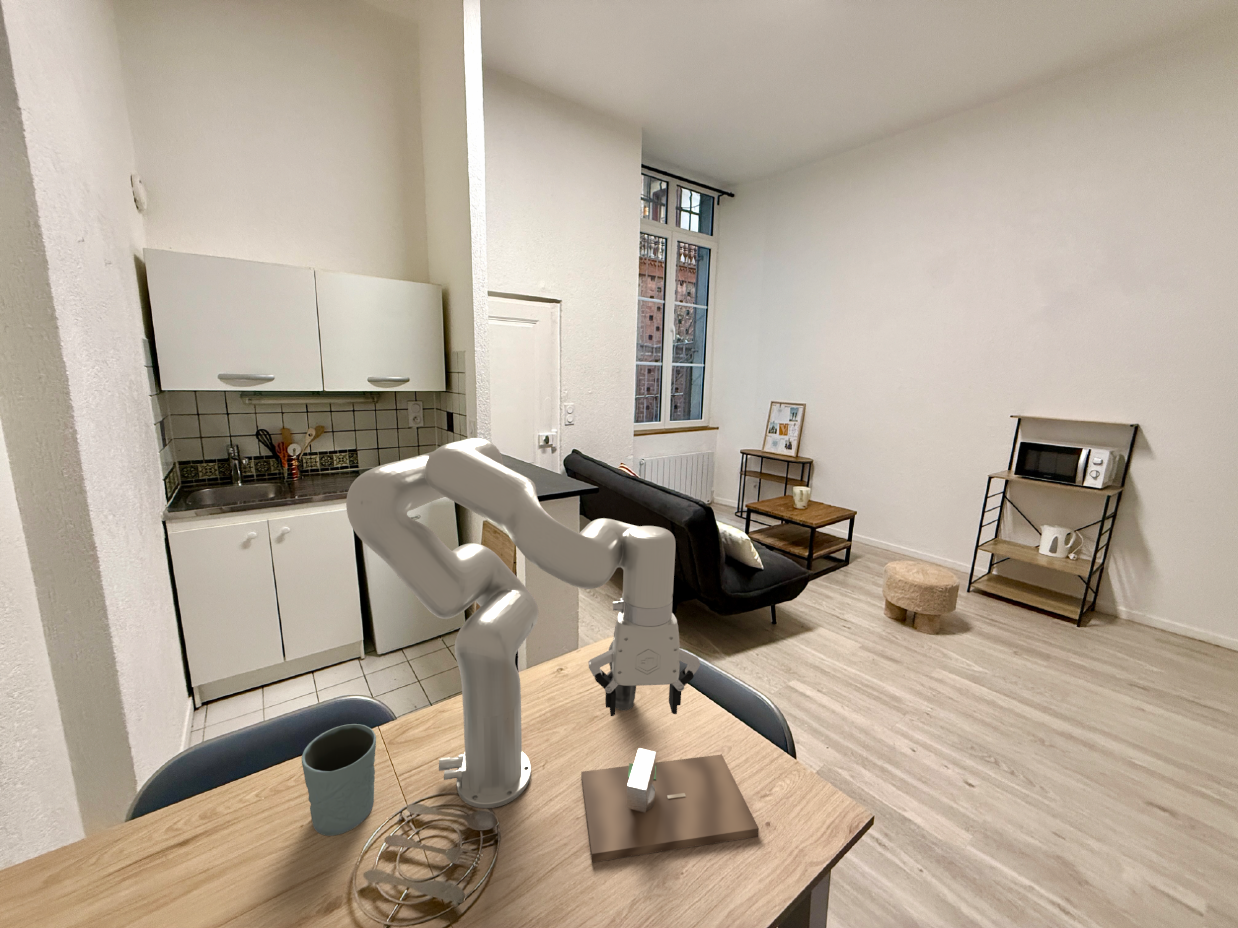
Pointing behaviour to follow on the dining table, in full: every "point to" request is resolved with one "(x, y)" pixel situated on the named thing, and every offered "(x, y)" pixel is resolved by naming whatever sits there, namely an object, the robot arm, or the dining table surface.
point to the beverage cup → (624, 693)
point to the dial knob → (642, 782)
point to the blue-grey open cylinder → (340, 777)
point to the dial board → (665, 809)
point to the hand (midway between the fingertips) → (642, 709)
